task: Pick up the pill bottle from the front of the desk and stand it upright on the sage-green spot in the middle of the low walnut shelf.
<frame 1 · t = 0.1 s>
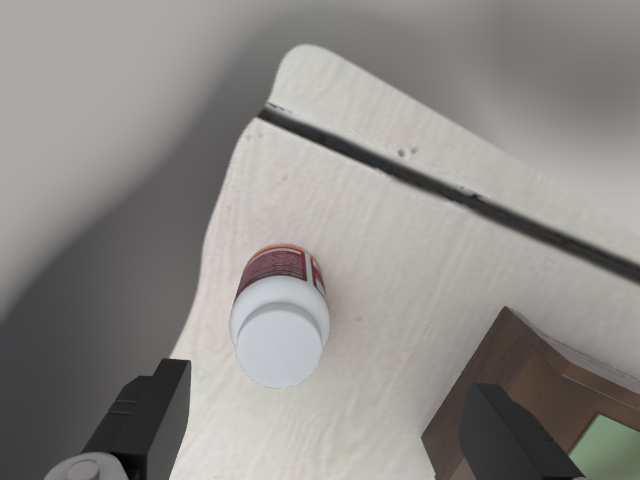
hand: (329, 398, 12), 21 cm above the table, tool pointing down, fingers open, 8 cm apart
shelf: (560, 418, 39), on the table
pill bottle: (283, 278, 34), on the table
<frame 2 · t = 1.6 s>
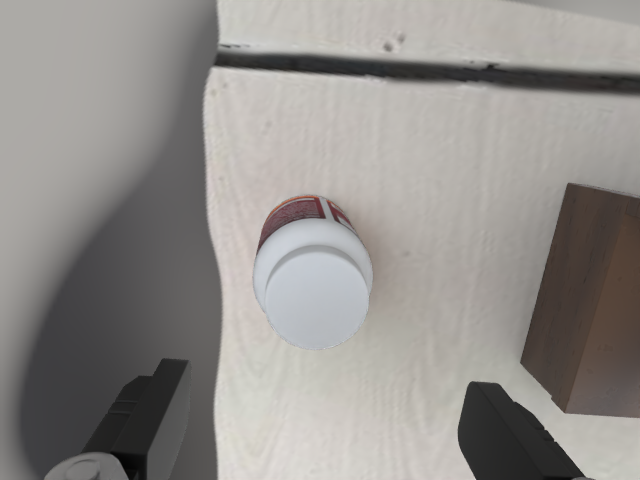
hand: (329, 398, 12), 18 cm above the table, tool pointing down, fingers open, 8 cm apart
pill bottle: (307, 237, 30), on the table
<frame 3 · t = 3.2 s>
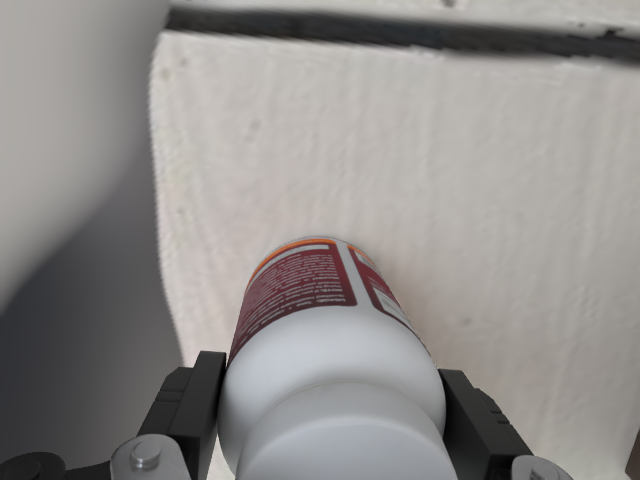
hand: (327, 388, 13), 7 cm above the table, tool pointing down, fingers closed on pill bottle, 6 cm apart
pill bottle: (315, 298, 19), on the table, touching gripper
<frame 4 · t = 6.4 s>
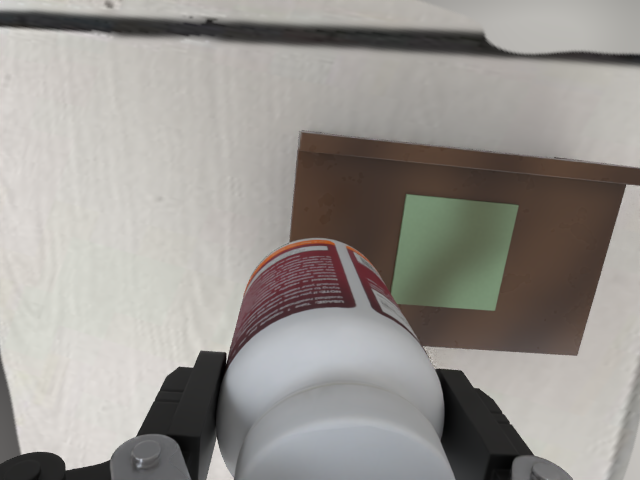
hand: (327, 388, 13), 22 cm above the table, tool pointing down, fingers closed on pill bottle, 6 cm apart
shelf: (425, 232, 35), on the table
pill bottle: (315, 299, 19), point 15 cm above the table, touching gripper
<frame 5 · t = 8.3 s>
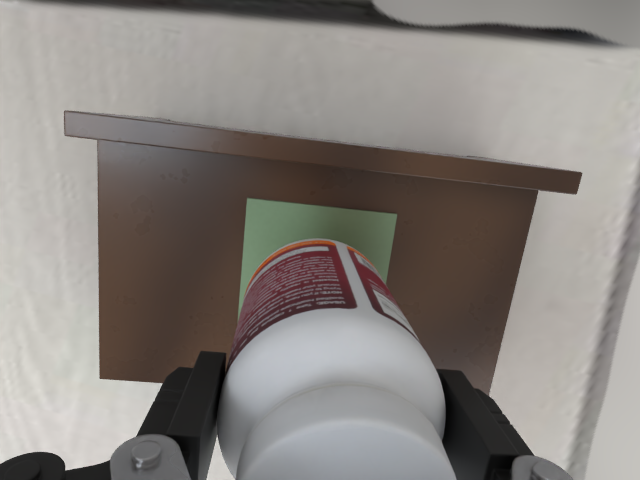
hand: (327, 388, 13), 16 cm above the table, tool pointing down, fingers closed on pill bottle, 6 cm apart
shelf: (310, 246, 28), on the table
pill bottle: (315, 300, 19), point 9 cm above the table, touching gripper
when the fingers open (13 cm above the table, at t = 9.7 s): pill bottle stays where it is, resting on shelf.
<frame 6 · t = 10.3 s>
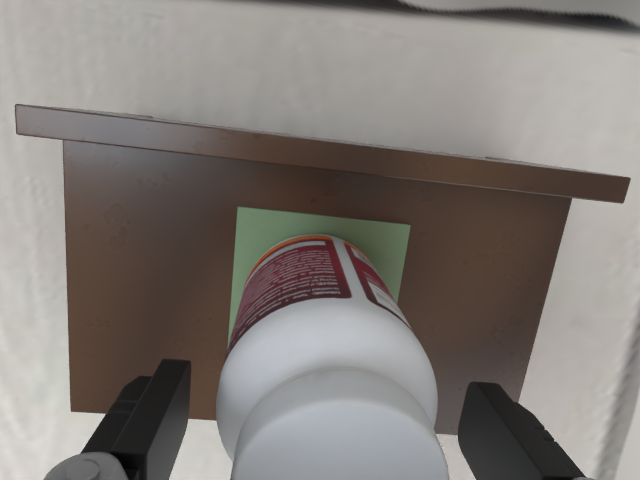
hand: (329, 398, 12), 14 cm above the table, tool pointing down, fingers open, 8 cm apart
shelf: (310, 257, 26), on the table
pill bottle: (313, 294, 20), point 6 cm above the table, touching shelf
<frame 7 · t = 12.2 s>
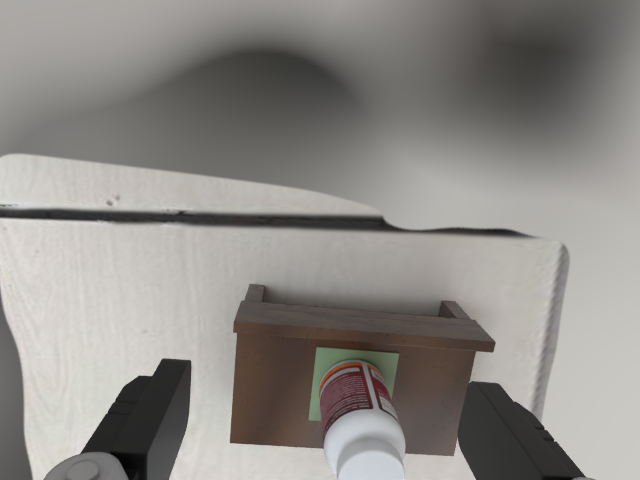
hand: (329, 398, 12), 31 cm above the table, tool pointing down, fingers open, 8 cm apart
shelf: (346, 354, 46), on the table
pill bottle: (351, 385, 40), point 6 cm above the table, touching shelf
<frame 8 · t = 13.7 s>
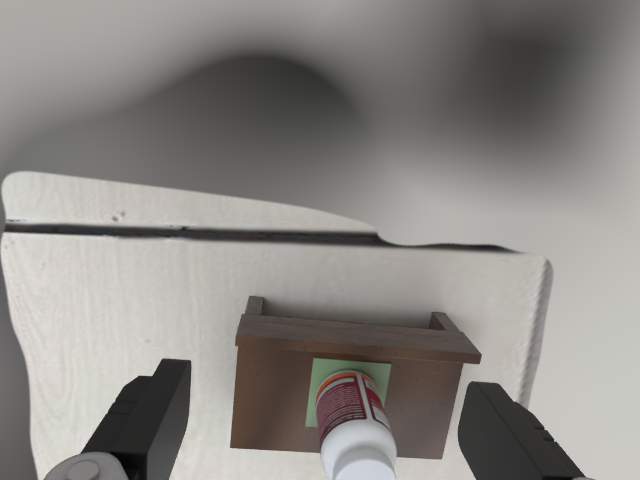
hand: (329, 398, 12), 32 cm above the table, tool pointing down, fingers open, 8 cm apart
shelf: (340, 362, 48), on the table
pill bottle: (346, 394, 42), point 6 cm above the table, touching shelf
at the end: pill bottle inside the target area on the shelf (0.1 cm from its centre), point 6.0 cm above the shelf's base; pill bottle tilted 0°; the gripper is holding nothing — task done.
